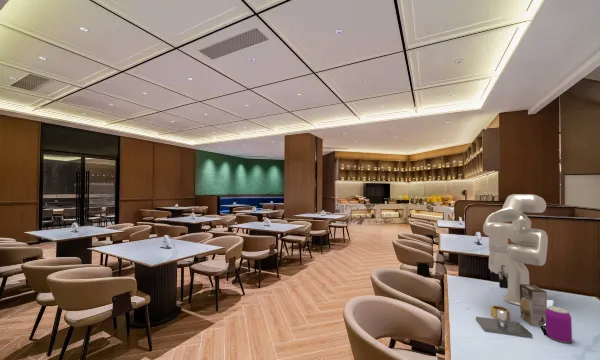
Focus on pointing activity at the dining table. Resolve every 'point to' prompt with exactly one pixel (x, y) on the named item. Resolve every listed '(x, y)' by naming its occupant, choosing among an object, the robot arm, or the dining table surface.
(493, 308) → the brass ring
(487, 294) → the dining table surface
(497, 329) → the stand
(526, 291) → the coffee box
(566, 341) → the beverage can
